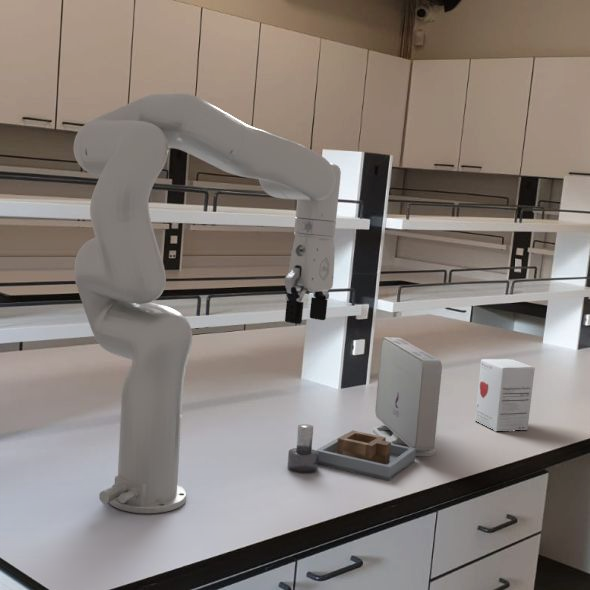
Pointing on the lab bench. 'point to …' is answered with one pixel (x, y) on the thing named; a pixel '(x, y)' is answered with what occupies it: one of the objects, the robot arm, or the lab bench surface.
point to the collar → (364, 447)
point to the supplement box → (504, 394)
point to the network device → (408, 395)
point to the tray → (397, 463)
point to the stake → (303, 452)
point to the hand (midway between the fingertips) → (305, 320)
